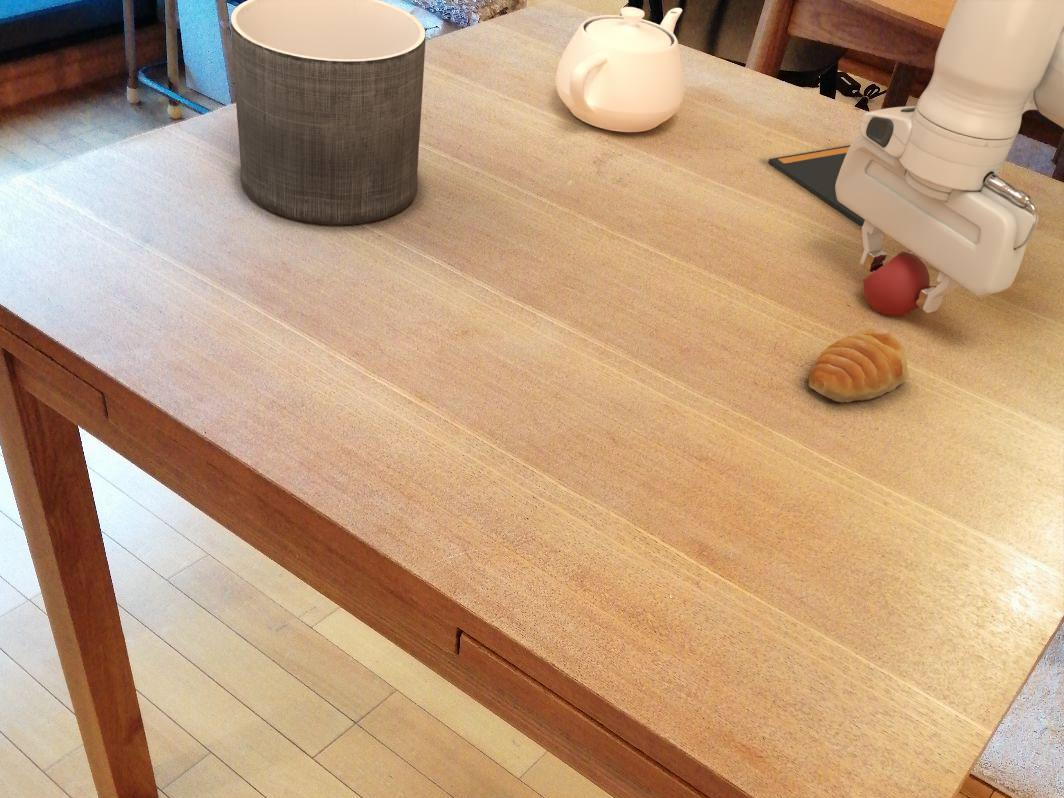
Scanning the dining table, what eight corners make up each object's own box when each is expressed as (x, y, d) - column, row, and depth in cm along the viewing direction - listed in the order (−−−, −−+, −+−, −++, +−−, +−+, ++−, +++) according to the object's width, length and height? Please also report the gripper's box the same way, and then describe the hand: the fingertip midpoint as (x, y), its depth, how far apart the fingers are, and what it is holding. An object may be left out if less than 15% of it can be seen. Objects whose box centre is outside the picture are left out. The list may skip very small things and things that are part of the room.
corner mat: (887, 142, 137) (889, 138, 137) (983, 200, 128) (985, 196, 127) (767, 162, 128) (769, 158, 128) (861, 226, 119) (863, 222, 119)
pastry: (847, 420, 92) (862, 383, 90) (785, 380, 96) (798, 343, 93) (909, 385, 97) (924, 349, 95) (848, 348, 101) (861, 313, 98)
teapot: (623, 165, 123) (644, 54, 115) (509, 121, 128) (521, 12, 120) (717, 104, 139) (741, 3, 131) (613, 67, 144) (629, -32, 136)
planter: (323, 131, 120) (322, -22, 110) (451, 187, 114) (463, 31, 104) (202, 180, 109) (188, 15, 98) (338, 246, 103) (338, 77, 92)
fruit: (880, 340, 106) (945, 296, 100) (845, 293, 106) (908, 246, 100) (907, 318, 110) (972, 274, 103) (874, 272, 110) (936, 226, 103)
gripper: (1069, 199, 92) (999, 338, 101) (898, 100, 103) (850, 233, 113) (1020, 209, 89) (953, 351, 98) (850, 106, 101) (805, 242, 110)
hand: (896, 287), depth 106 cm, fingers closed on fruit, 6 cm apart
